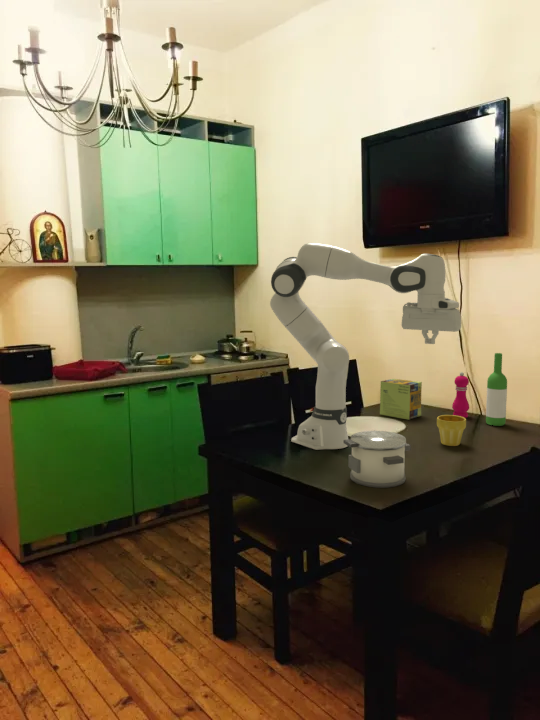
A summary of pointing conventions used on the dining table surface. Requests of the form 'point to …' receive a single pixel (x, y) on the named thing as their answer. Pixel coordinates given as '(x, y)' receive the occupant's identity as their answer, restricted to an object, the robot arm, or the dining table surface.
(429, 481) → the dining table surface
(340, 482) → the dining table surface
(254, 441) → the dining table surface
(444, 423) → the plant pot
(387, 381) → the protein box
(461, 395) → the pepper mill
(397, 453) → the cooker
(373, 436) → the lid
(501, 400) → the wine bottle
